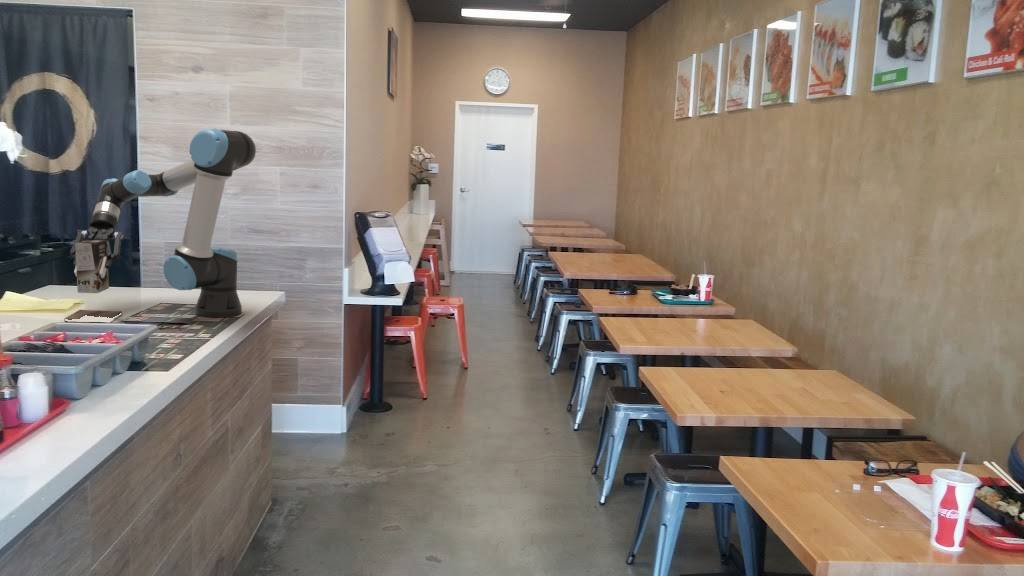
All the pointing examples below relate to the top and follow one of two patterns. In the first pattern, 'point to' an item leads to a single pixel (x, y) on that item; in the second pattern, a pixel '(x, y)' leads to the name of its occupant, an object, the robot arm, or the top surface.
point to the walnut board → (93, 314)
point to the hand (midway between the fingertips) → (89, 274)
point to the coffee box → (91, 266)
